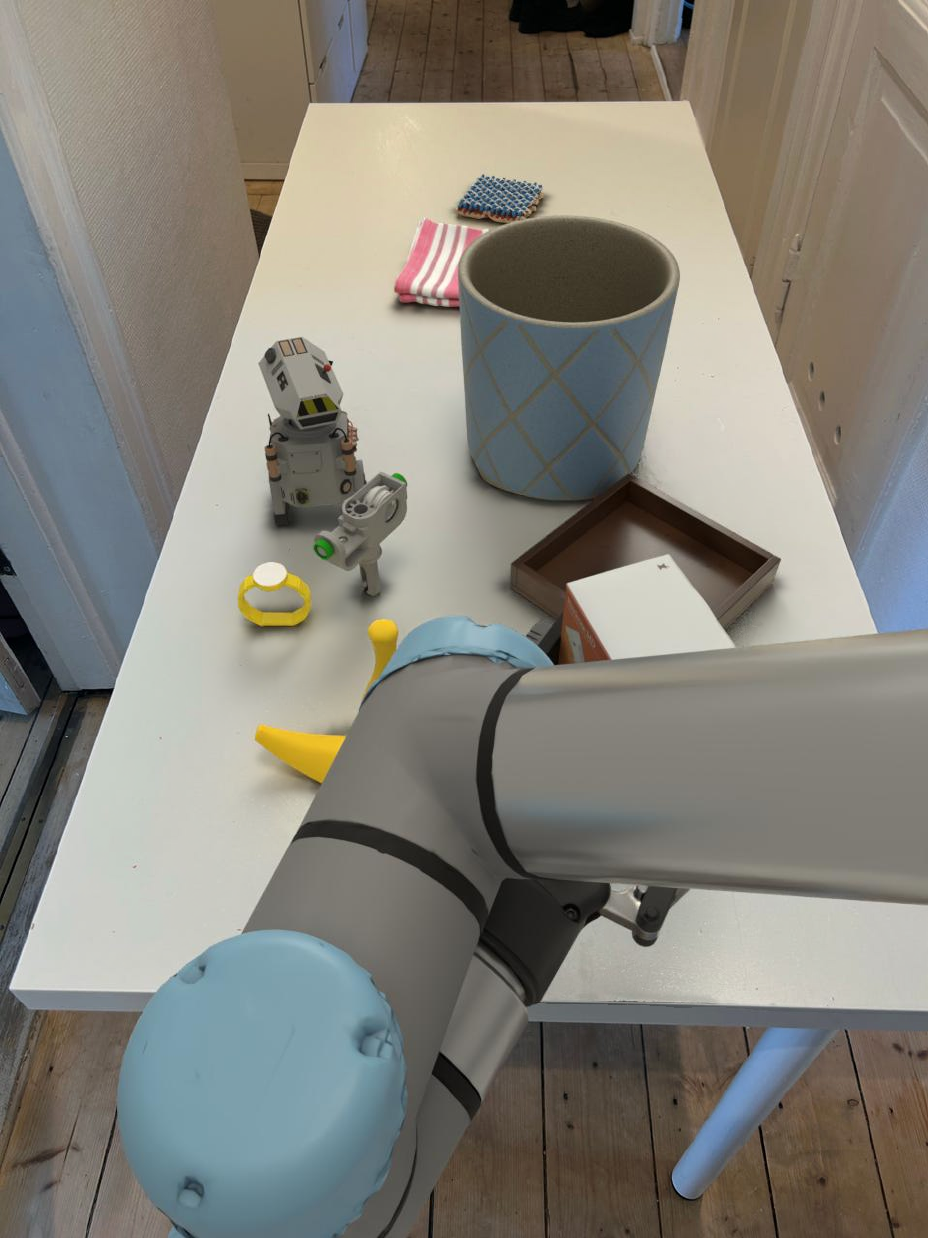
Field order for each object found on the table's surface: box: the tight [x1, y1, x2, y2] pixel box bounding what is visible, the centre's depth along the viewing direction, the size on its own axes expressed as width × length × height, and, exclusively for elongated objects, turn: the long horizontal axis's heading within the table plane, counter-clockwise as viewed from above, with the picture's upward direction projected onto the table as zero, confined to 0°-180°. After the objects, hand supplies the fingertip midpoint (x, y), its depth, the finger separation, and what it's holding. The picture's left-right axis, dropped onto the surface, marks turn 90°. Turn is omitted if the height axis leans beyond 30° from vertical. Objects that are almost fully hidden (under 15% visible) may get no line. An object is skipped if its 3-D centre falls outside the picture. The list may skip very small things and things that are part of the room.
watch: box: [237, 561, 312, 627], centre depth 76 cm, size 6×3×6 cm, turn 93°
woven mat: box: [455, 173, 545, 224], centre depth 127 cm, size 10×11×2 cm
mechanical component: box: [312, 471, 408, 597], centre depth 76 cm, size 3×10×10 cm, turn 145°
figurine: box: [257, 336, 368, 526], centre depth 83 cm, size 9×12×15 cm
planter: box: [458, 214, 681, 501], centre depth 85 cm, size 19×19×20 cm
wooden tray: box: [509, 473, 782, 631], centre depth 79 cm, size 17×17×3 cm
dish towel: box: [393, 217, 491, 308], centre depth 114 cm, size 17×23×4 cm
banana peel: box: [254, 618, 400, 784], centre depth 62 cm, size 16×19×17 cm
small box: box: [558, 554, 737, 665], centre depth 50 cm, size 8×6×13 cm
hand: (670, 635), depth 52 cm, fingers closed on small box, 10 cm apart
